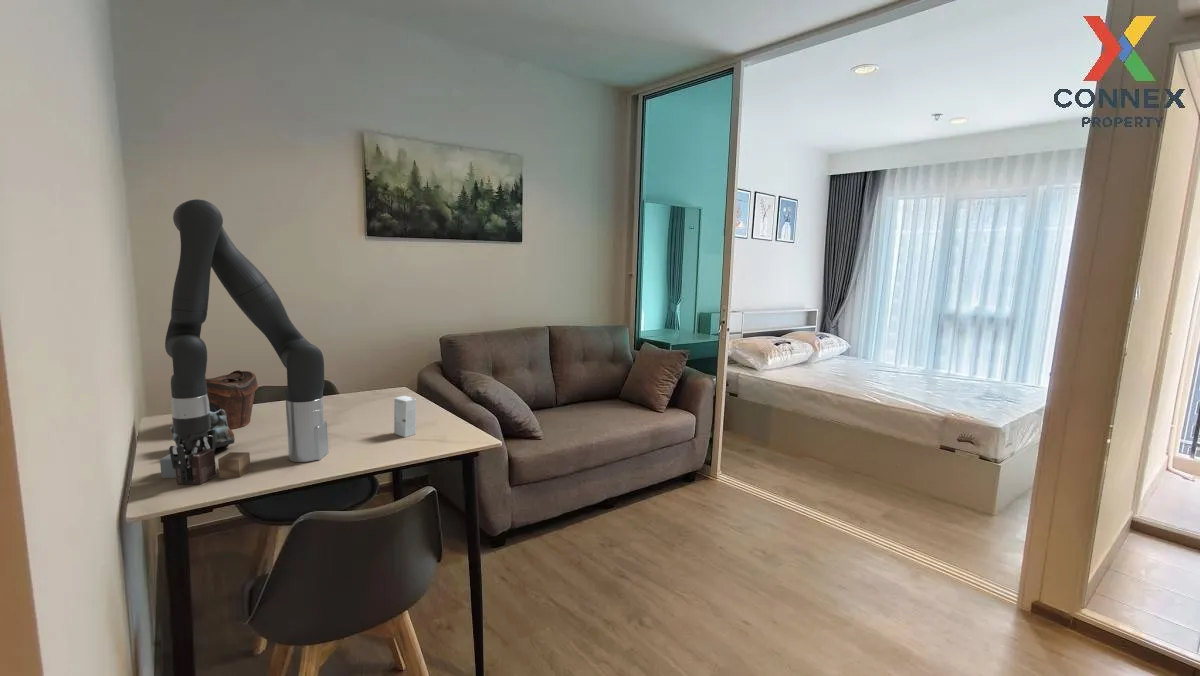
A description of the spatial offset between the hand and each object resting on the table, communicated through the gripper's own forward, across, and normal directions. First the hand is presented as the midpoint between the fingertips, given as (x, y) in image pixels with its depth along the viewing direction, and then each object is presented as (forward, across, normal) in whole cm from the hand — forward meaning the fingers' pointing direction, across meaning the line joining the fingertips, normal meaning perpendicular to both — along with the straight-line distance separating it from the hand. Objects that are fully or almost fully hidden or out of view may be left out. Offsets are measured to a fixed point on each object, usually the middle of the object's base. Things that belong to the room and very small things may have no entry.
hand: (196, 476), depth 137 cm
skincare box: (+1, +36, -42) cm, 55 cm away
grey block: (+1, +4, +7) cm, 8 cm away
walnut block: (+1, +4, -7) cm, 8 cm away
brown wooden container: (+1, +45, +18) cm, 48 cm away
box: (+1, 0, 0) cm, 1 cm away
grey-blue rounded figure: (+1, +20, +10) cm, 22 cm away
